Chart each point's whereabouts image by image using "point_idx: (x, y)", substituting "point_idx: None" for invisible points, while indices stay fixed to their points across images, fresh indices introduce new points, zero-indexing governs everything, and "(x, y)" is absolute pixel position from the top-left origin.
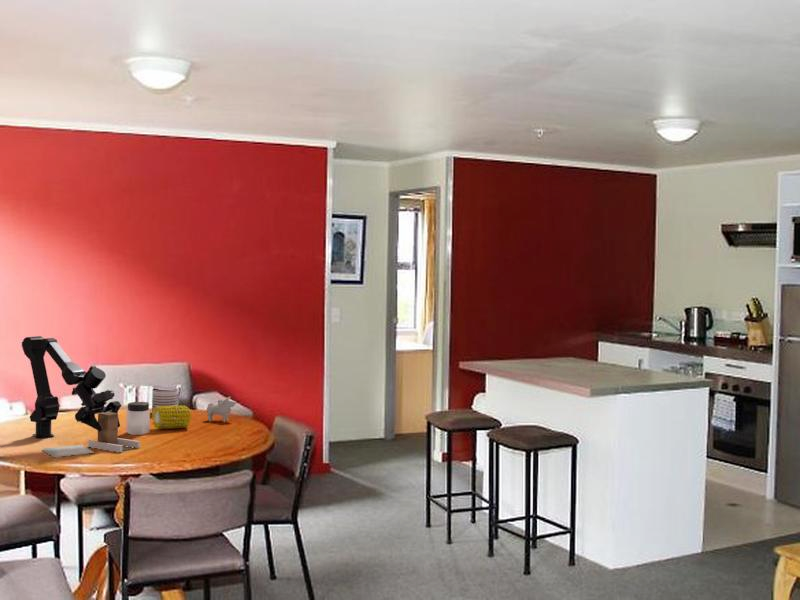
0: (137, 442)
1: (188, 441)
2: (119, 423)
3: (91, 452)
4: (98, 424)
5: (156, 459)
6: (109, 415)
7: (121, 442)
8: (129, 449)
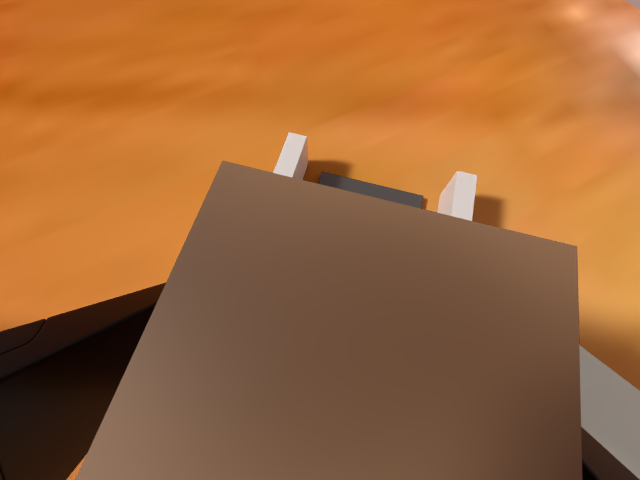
0: (305, 143)
1: (69, 26)
2: (159, 285)
3: (592, 356)
4: (581, 440)
5: (494, 7)
6: (514, 240)
7: None
8: (368, 183)
